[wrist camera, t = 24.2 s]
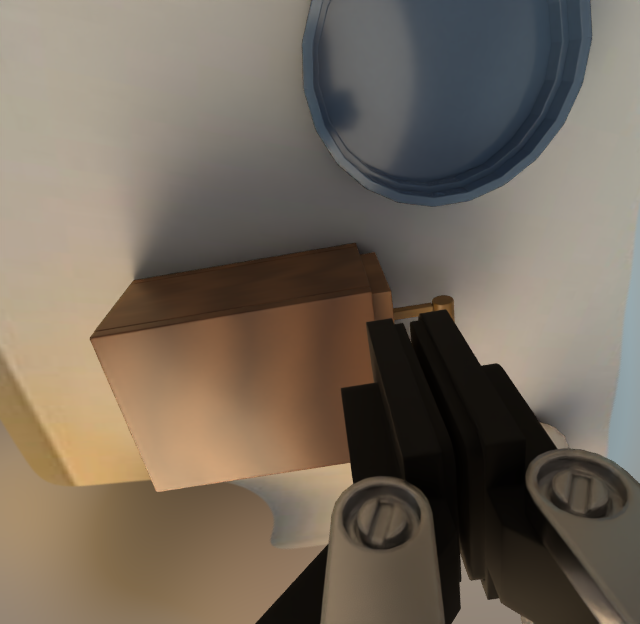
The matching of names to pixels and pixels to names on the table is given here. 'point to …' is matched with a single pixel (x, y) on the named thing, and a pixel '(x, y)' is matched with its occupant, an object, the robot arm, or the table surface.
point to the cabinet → (240, 365)
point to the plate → (442, 89)
